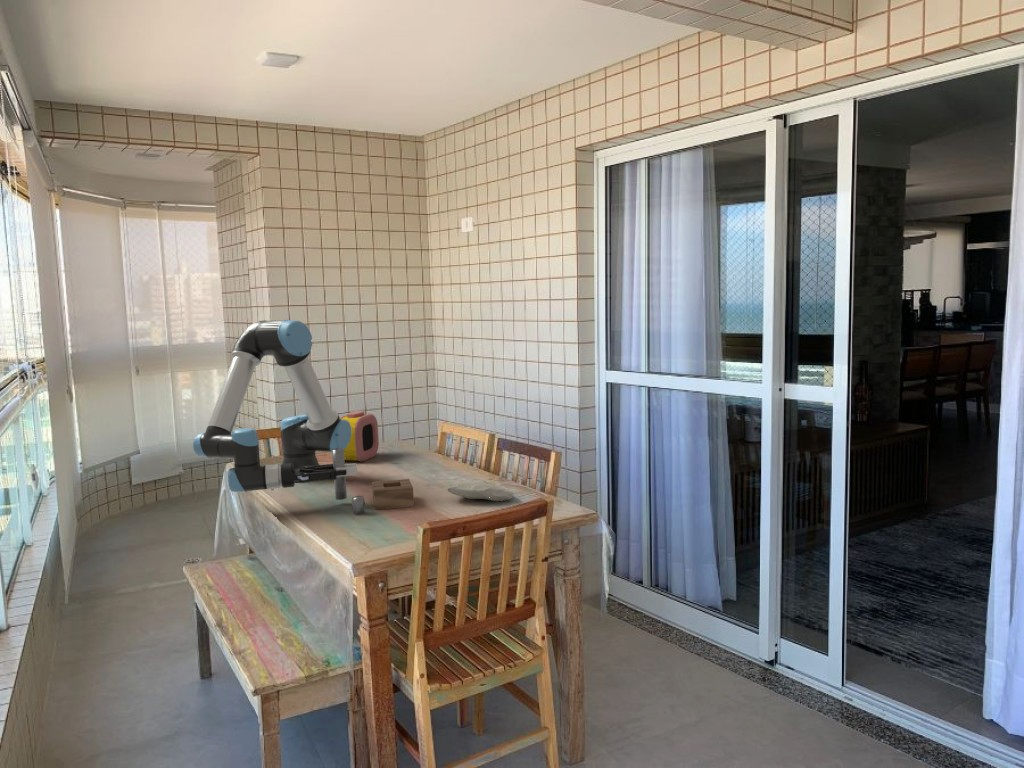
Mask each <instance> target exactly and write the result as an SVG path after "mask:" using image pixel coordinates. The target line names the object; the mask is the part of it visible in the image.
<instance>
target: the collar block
mask: <svg viewBox="0 0 1024 768" xmlns="http://www.w3.org/2000/svg"><path fill="white" fill-rule="evenodd" d="M371 488H372V489H371V491H372V503H373V506H374V510H375V511H378V509H379V510H389V509H398V508H407V507H408V508H409V507H414V506H415V503H414V499H415V498H414V487H413V485H412V482H411V481H410V478H403V479H392V480H380V481H379V480H378V481H372V482H371Z"/></svg>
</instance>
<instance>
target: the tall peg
mask: <svg viewBox="0 0 1024 768" xmlns="http://www.w3.org/2000/svg"><path fill="white" fill-rule="evenodd" d="M331 454H332V464H333V469H336V468H343V467H345V463H346V461H345V460H344V449H343V448H336V449H332V452H331ZM346 477H347V476H342V477H336V480H334V479H333V481H334V494H335V500H336V501H337V500H338V501H340V500H341V501H343V500H346V499H348V495H347V494H348V492H347V480H346V479H347V478H346Z"/></svg>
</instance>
